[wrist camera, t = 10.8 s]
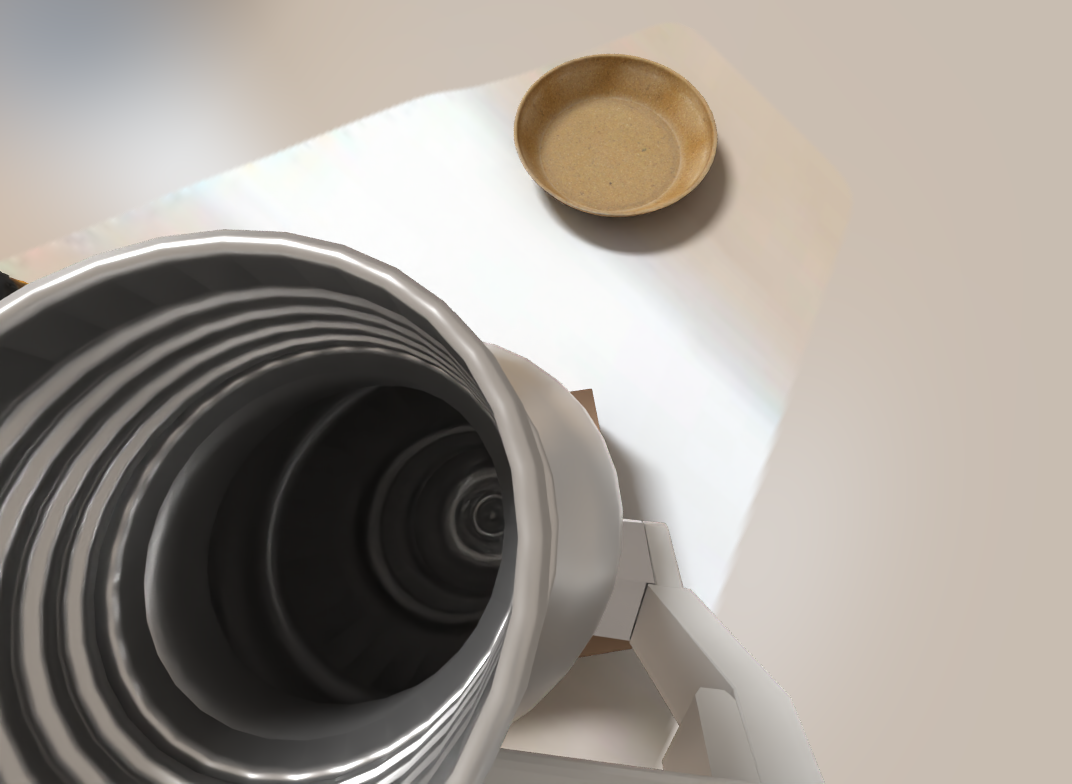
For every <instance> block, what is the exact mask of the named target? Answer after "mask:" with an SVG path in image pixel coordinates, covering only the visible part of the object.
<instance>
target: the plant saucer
mask: <svg viewBox="0 0 1072 784" xmlns="http://www.w3.org/2000/svg"><path fill="white" fill-rule="evenodd" d="M514 141H515V146H516V150H517V153H518V156H519V158H520V160H521V162H522V164H523V166H524V168H525V169H526V171H527V172H528V174H529V175H530V176H531V177H532V179H533V180H534V181H535V182H536V183H537V184H538V185H539V186H540V187H541V188H542V189H544V190H545V191H546V192H547V193H549V194H550V195H551V196H553V197H554V198H555V199H557V200H559V201H560V202H562V203H564V204H566V205H568V206H570V207H572V208H574V209H577V210H580V211H583V212H586V213H590V214H594V215H599V216H608V217H628V216H636V215H642V214H646V213H650V212H653V211H656V210H659V209H662V208H664V207H667V206H669V205H671V204H673V203H675V202H677V201H678V200H680V199H681V198H683V197H685V196H686V195H687V194H689V193H690V192H691V191H692V190H693V189H694V188H696V187H697V186H698V185H699V183H700V182H701V181H702V180H703V179H704V177H705V176H706V174H707V173H708V171H709V169H710V167H711V165H712V163H713V160H714V157H715V154H716V148H717V130H716V124H715V120H714V117H713V114H712V111H711V110H710V108H709V106H708V104H707V102H706V100H705V99H704V97H703V96H702V95H701V94H700V92H699V91H698V90H697V89H696V88H695V87H694V86H693V85H692V84H691V83H690V82H689V81H688V80H686V79H685V78H684V77H683V76H681V75H680V74H678V73H676V72H675V71H673V70H671V69H670V68H668V67H666V66H664V65H661V64H659V63H656V62H653V61H650V60H647V59H644V58H640V57H636V56H631V55H623V54H598V55H591V56H585V57H581V58H578V59H573V60H570V61H568V62H565V63H563V64H561V65H559V66H557V67H555V68H553V69H552V70H550V71H548V72H547V73H545V74H544V75H543V76H542V77H540V78H539V79H538V80H537V81H536V82H535V83H534V84H533V85H532V86H531V87H530V88H529V89H528V91H527V92H526V93H525V95H524V97H523V98H522V100H521V103H520V105H519V107H518V109H517V113H516V116H515V121H514Z"/></svg>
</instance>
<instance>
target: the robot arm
mask: <svg viewBox="0 0 1072 784" xmlns="http://www.w3.org/2000/svg"><path fill="white" fill-rule="evenodd" d="M593 635H595V636H601V637H608V638H615V639H621V640H628V641H630V644H631V646H632V648H633V649H634V651H635V653H636V654H637V656H638V658H639V659H640V661H641V663H642V664H643V666H644V668H645V669H646V671H647V673H648V674H649V676H650V678H651V679H652V681H653V683H654V685H655V686H656V688H657V690H658V691H659V693H660V695H661V696H662V698H663V700H664V701H665V703H666V705H667V706H668V708H669V710H670V711H671V713H672V715H673V716H674V718H675V720H676V721H677V723H678V725H679V728H678V730H677V732H676V734H675V736H674V738H673V740H672V742H671V744H670V746H669V748H668V750H667V752H666V754H665V756H664V758H663V760H662V764H663V770H659V769H651V768H644V767H637V766H629V765H622V764H614V763H607V762H599V761H592V760H585V759H577V758H570V757H562V756H555V755H547V754H540V753H532V752H525V751H518V750H510V749H503V748H500V750H499V752H498V754H497V756H496V759H495V761H494V763H493V765H492V768H491V769H490V771H489V772H488V774H487V775H486V777H485V780H484V782H483V784H825V782H824V780H823V777H822V775H821V772H820V769H819V767H818V764H817V762H816V759H815V757H814V754H813V752H812V749H811V747H810V744H809V742H808V739H807V737H806V734H805V732H804V729H803V727H802V724H801V722H800V719H799V717H798V714H797V712H796V709H795V706H794V704H793V702H792V699H791V697H790V696H789V695H788V694H787V692H786V691H785V690H784V689H783V688H782V687H781V686H780V685H779V684H778V683H777V682H776V681H775V679H774V678H773V677H772V676H771V675H770V674H769V673H768V672H767V671H766V670H765V669H764V668H763V667H762V666H761V664H760V663H759V662H758V661H757V660H756V659H755V658H754V657H753V656H752V655H751V654H750V653H749V651H748V650H747V649H746V648H745V647H744V646H743V645H742V644H741V643H740V642H739V641H738V640H737V639H736V637H735V636H734V635H733V634H732V633H731V632H730V631H729V630H728V629H727V628H726V627H725V626H724V625H723V623H722V622H721V621H720V620H719V619H718V618H717V617H716V616H715V615H714V614H713V613H712V612H711V611H710V609H709V608H708V607H707V606H706V605H705V604H704V603H703V602H702V601H701V600H700V599H699V598H698V597H697V595H696V594H695V593H694V592H693V591H692V590H691V589H686V588H683V585H682V581H681V577H680V573H679V569H678V565H677V561H676V557H675V553H674V549H673V545H672V542H671V538H670V534H669V530H668V527H667V525H666V524H665V523H660V522H650V521H640V520H630V519H623V529H622V552H621V556H620V561H619V566H618V570H617V575H616V579H615V584H614V589H613V592H612V594H611V596H610V599H609V601H608V603H607V606H606V608H605V611H604V613H603V615H602V618H601V620H600V623H599V625H598V627H597V629H596V631H595V633H594V634H593Z"/></svg>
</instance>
